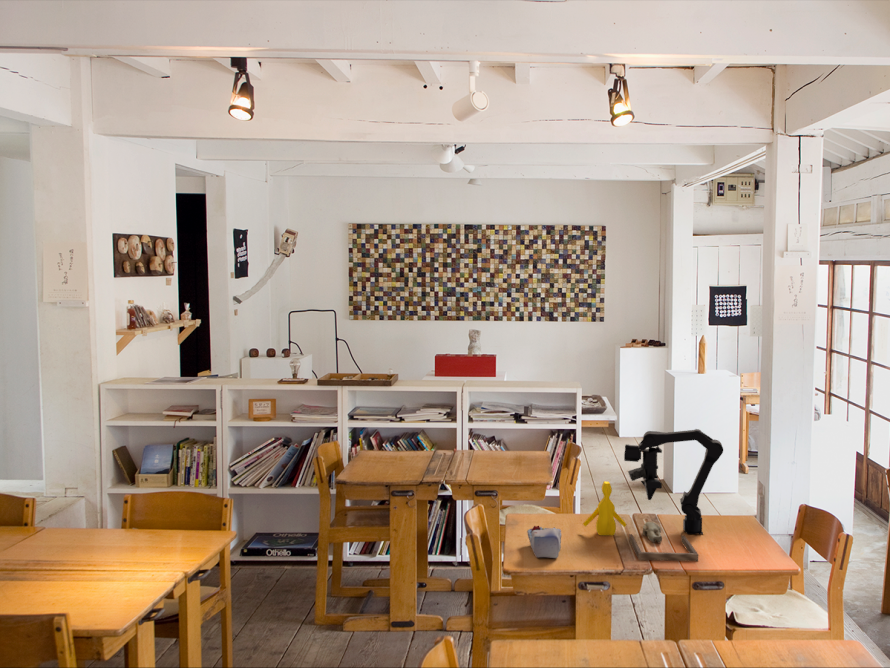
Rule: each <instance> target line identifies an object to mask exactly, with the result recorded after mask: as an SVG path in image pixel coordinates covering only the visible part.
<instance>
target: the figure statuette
mask: <svg viewBox="0 0 890 668" xmlns="http://www.w3.org/2000/svg"><path fill="white" fill-rule="evenodd" d="M601 492H602V494H603V497H602V498H601V499H600V501H599V503H598V504H597V507H596V508H595V510H594V511H593V512H592V513H591V515H590V516H589V517H587V518H586V520H584V522H583V523H582V525H583V526H584V527H588V525H589V524H590V523H591V522H592V521H593V520H594V519H595V518H597V519H596V522H595V530H596V532H597V534H598V535H599V536H614V535H615V534H616V530H617V524H616V521H617V522H618V523H619V524H620V525H622V526H623V527H624V528H626V526H627V523H626V522H625V521H624V520H623V518H622V517H621V516H620V515H619V514H618V513H617V512H616V508H615V504H614V502H613V501H612V500H611V498H610V496H611V494H612V492H613V489H612V484H611V483H610V481H603V483H602V485H601ZM615 520H616V521H615Z"/></svg>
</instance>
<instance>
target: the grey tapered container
mask: <svg viewBox="0 0 890 668" xmlns="http://www.w3.org/2000/svg"><path fill="white" fill-rule="evenodd" d="M526 533H527V536H528V539H529V543H530V547H531V549H532V553H533V554H534V556H535V558H550V559H558V557H559V554H560V551H561V543H562V530H561V529H560V528H556V527H553V528H552V527H542V526H539V525H534V526H532V528H529V529H527V531H526Z"/></svg>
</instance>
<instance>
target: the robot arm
mask: <svg viewBox="0 0 890 668" xmlns="http://www.w3.org/2000/svg"><path fill="white" fill-rule="evenodd" d="M690 441H696V442H698V443H699V444H701V446H703V448H704V449H705V451H704V452H705V453H704V459H703V460H702V463H701V465H700V467H699V470H698V471H697V474H696V476H695V479H694V480H693V484H692V485H691V488H690V489H689V490H688V492H686V491H683V494H682V496H681V498H679V500H680V509H681V511H682V513H683V514H685V515H684V519H683V521H682V522H683V523H682V530H684V532H685V533H686V534H687V535H704V532H703V517H702V512H701V511H702V510H701V509H700V508H699V507H698V503H699V498H700V494H701V492H702V490H703V488H704V486H705V484H706V481H707V480H708V479H707V478H708V477H709V475H710V473H711V470H712V468H713V466H714V465H715V464H716V463H717V462H718V460H719V459H720V457H721V456H722V455H723V453H724V447H723V445H722V443H721V442H720V440H719V439H718V440H717V439H713V438H712V437H711V436H709V435H707V434H706V433H704V431H702V430H701V429H697V428H695V429H691V430H688V429H687V430H682V431H681V430H679V431H670V432H662V431H653V430H652V431H651V430H647V431H646V432H645V433H644V434H643V436H642V440H641V442H639V444H637V445H636V444H635V445H634V444H625V445H624V453H623V456H624V457H623V458H624V460H623V461H624V462H632V463H633V462H636V463H637V462H639V461H641V460H642V463H641V464H640V467H638V468H633V469H630V470H628V475H629V476H628V477H629V478H630V480H631V481H633V482H634V481H636V480H638V479H641V478H642V480H641V481H640V483H641V484H642V485H643V486H644V488H645V492H646V497H647V500H648V501H651V500H653V497H654V495H655V492H656V491H657V489H662V486H663V485H662V484H663V483H662V482H661V481H660V480H659V475H658V470H659V465H658V453H659V454H662V453H663V450H662V449H661V448H660V446H661V445H665V444H669V443H679V442H690Z"/></svg>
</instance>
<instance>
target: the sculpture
mask: <svg viewBox="0 0 890 668" xmlns="http://www.w3.org/2000/svg"><path fill="white" fill-rule="evenodd" d="M661 533H662V530H661V527H660V525H659V524H657V523H656V522H654V521H646V522H645V523H644V525H643V527H642V535H643V536H645V537H647V538H648V539H649V541H650V542H651V543H655V542H656V543H661V542H662V540H663V537H662V534H661Z"/></svg>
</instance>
